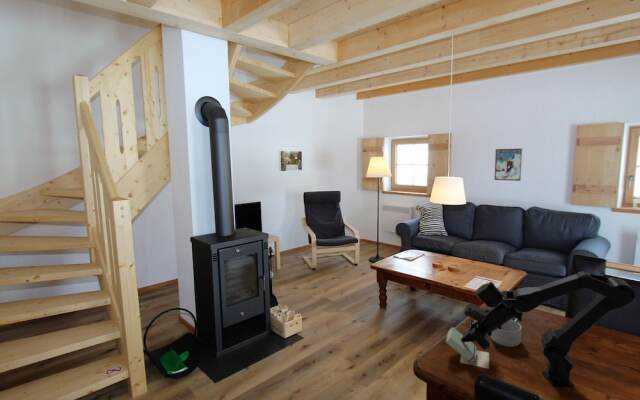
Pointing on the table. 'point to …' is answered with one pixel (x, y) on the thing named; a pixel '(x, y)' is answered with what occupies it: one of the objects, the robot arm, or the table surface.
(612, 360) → the table surface
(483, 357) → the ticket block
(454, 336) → the pale mint rectangular box
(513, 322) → the teacup
